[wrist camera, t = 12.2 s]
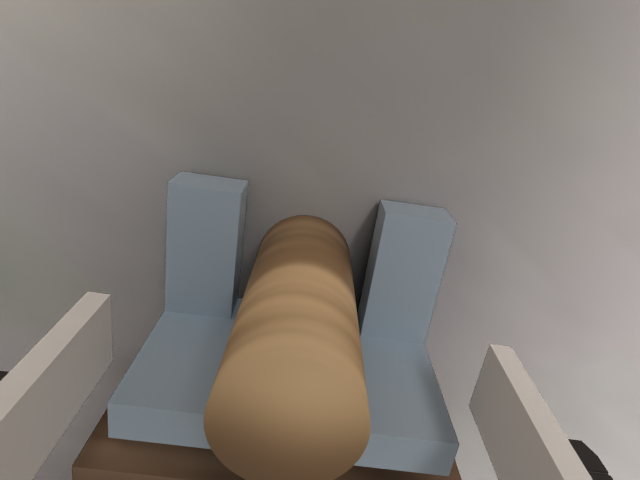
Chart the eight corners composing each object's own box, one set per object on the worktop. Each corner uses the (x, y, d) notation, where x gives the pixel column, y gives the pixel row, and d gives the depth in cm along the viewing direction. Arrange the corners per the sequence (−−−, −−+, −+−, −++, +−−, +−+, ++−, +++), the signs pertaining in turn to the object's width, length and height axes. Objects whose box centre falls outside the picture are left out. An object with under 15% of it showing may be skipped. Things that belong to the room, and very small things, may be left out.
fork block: (181, 171, 21) (101, 236, 13) (445, 208, 21) (510, 291, 14) (174, 364, 25) (110, 499, 17) (398, 392, 25) (429, 534, 18)
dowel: (263, 208, 22) (208, 347, 11) (357, 222, 22) (386, 371, 12) (254, 292, 23) (198, 479, 13) (341, 304, 23) (354, 498, 13)
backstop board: (137, 358, 25) (71, 466, 18) (433, 394, 25) (471, 510, 19) (137, 388, 25) (74, 503, 19) (425, 422, 26) (458, 544, 20)
